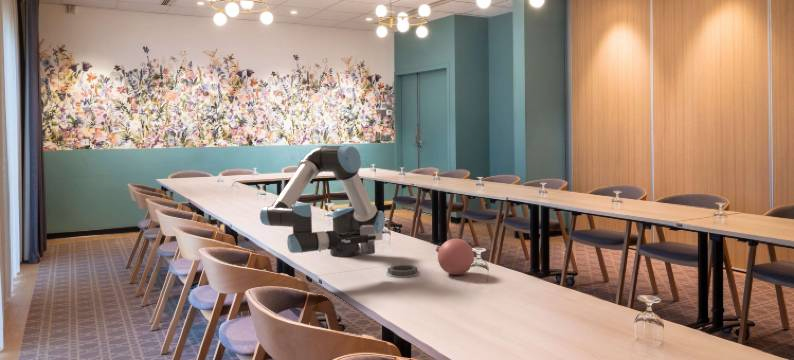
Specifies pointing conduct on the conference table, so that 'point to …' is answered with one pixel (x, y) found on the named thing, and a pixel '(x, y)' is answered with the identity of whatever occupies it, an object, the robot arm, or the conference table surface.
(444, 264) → the terracotta rubber ball
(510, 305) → the conference table surface
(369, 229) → the cylinder
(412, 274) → the ring plate
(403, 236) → the conference table surface
